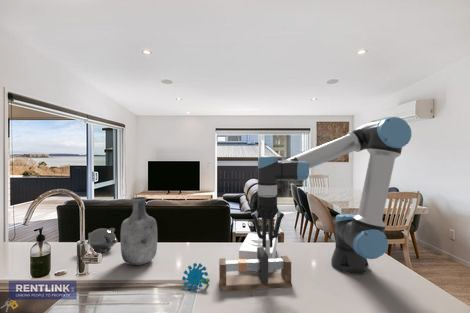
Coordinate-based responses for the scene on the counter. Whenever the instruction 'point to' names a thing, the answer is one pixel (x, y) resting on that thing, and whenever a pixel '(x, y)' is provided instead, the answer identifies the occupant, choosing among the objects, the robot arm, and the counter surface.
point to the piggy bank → (102, 239)
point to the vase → (138, 235)
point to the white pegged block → (255, 248)
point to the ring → (263, 264)
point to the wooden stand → (254, 278)
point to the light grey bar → (253, 264)
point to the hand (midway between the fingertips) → (267, 255)
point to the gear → (195, 276)
